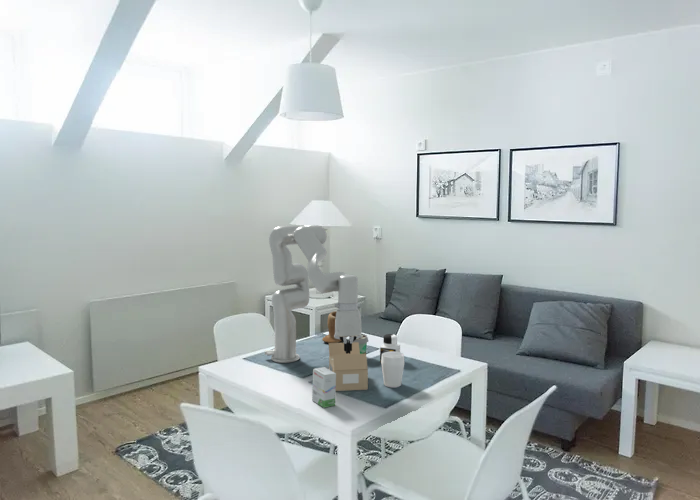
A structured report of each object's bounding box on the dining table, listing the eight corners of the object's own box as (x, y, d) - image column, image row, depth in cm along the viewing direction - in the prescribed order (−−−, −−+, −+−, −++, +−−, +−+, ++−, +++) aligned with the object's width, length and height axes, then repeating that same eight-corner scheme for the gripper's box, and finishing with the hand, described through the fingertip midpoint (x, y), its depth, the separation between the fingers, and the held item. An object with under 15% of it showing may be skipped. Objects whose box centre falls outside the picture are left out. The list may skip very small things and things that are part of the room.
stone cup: (340, 346, 262) (340, 316, 261) (319, 343, 267) (319, 313, 266) (353, 338, 276) (353, 310, 274) (333, 336, 281) (333, 307, 279)
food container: (365, 362, 236) (365, 340, 235) (351, 361, 238) (352, 339, 237) (370, 354, 248) (370, 333, 247) (357, 353, 250) (357, 332, 249)
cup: (397, 390, 203) (398, 359, 202) (376, 385, 208) (377, 355, 207) (408, 383, 211) (408, 353, 210) (387, 379, 216) (388, 350, 214)
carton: (333, 391, 202) (333, 370, 202) (328, 375, 220) (328, 355, 219) (367, 389, 204) (367, 368, 203) (360, 373, 222) (360, 354, 221)
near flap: (334, 370, 201) (334, 370, 201) (333, 355, 204) (333, 354, 204) (367, 369, 203) (367, 368, 203) (366, 353, 206) (366, 353, 206)
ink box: (311, 400, 193) (311, 368, 192) (324, 397, 196) (324, 366, 195) (323, 408, 186) (323, 375, 185) (336, 405, 189) (336, 372, 188)
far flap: (328, 343, 224) (328, 343, 224) (329, 355, 220) (329, 356, 220) (358, 342, 225) (358, 342, 226) (360, 354, 221) (359, 355, 222)
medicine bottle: (379, 362, 237) (380, 336, 236) (384, 358, 243) (385, 332, 242) (395, 364, 234) (395, 337, 233) (400, 360, 241) (400, 333, 239)
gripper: (329, 309, 204) (329, 356, 206) (368, 308, 206) (368, 354, 208) (327, 305, 211) (328, 350, 213) (365, 304, 213) (365, 349, 215)
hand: (347, 352), depth 211 cm, fingers closed
